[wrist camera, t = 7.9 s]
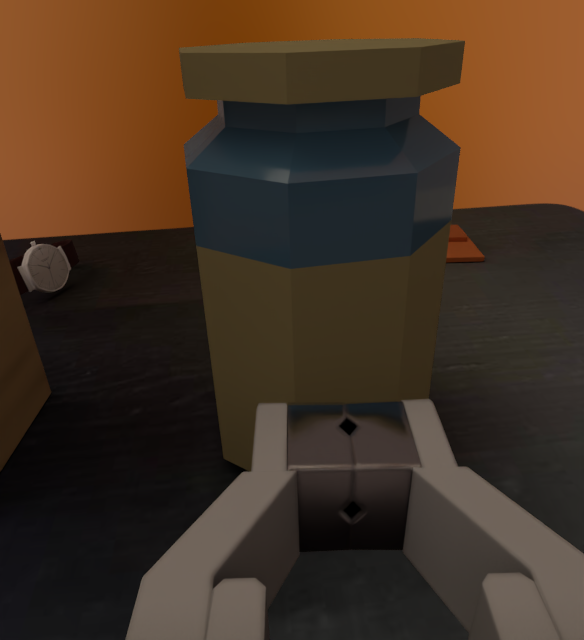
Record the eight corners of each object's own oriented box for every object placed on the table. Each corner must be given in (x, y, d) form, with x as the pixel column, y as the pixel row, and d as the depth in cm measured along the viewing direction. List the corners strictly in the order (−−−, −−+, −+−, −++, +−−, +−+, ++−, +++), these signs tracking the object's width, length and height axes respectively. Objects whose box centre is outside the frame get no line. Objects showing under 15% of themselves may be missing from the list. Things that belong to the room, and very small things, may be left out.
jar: (245, 360, 28) (217, 42, 20) (421, 375, 26) (460, 35, 19) (181, 493, 20) (98, 57, 13) (426, 527, 18) (496, 48, 11)
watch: (16, 320, 32) (-2, 266, 31) (-39, 308, 34) (-58, 256, 32) (98, 271, 39) (87, 224, 37) (49, 263, 40) (36, 217, 38)
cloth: (460, 232, 43) (461, 223, 43) (483, 261, 38) (485, 251, 38) (292, 237, 44) (292, 228, 43) (292, 266, 38) (292, 256, 38)
